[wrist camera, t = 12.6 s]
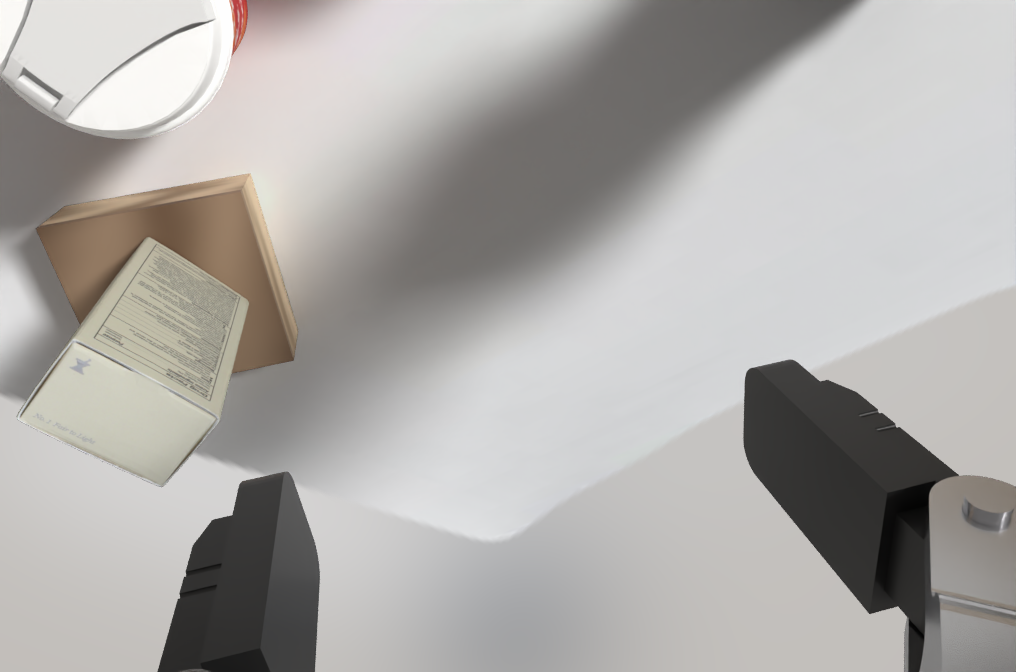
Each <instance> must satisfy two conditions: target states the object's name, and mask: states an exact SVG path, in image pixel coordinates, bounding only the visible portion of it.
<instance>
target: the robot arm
mask: <svg viewBox="0 0 1016 672" xmlns="http://www.w3.org/2000/svg"><path fill="white" fill-rule="evenodd" d="M744 449H745V453H746V457H747V460H748V462H749V465H750V467H751V469H752V470H753V472H754V474H755V475H756V476H757V477H758V479H759V480H760V481H761V482H762V483H763V485H764V486H765V487H766V488H767V489H768V491H769V492H770V493H771V494H772V496H773V497H774V498H775V499H776V501H777V502H778V503H779V504H780V505H781V507H782V508H783V509H784V510H785V512H786V513H787V514H788V515H789V516H790V518H791V519H792V520H793V521H794V523H795V524H796V525H797V526H798V527H799V529H800V530H801V531H802V532H803V533H804V535H805V536H806V537H807V538H808V540H809V541H810V542H811V543H812V544H813V546H814V547H815V548H816V549H817V551H818V552H819V553H820V554H821V555H822V557H823V558H824V559H825V560H826V561H827V563H828V564H829V565H830V566H831V568H832V569H833V570H834V571H835V572H836V574H837V575H838V576H839V577H840V579H841V580H842V581H843V582H844V583H845V585H846V586H847V587H848V588H849V589H850V591H851V592H852V593H853V594H854V596H855V597H856V598H857V599H858V600H859V602H860V603H861V604H862V605H863V607H864V608H865V609H866V610H867V611H868V613H869V614H871V613H875V612H879V611H882V610H886V609H890V608H894V607H897V606H898V607H899V608H900V609H901V610H902V611H903V612H904V613H905V615H906V616H907V621H906V626H905V635H904V636H905V637H904V672H1016V487H1015V486H1013V485H1011V484H1008V483H1006V482H1003V481H1000V480H996V479H992V478H988V477H982V476H970V475H968V476H967V475H963V476H959V475H958V474H957V473H956V472H954V471H953V470H952V469H950V468H949V467H948V466H947V465H946V464H944V463H943V462H942V461H941V460H939V459H938V458H937V457H936V456H935V455H933V454H932V453H931V452H930V451H928V450H927V449H926V448H925V447H923V446H922V445H921V444H920V443H919V442H917V441H916V440H915V439H914V438H912V437H911V436H910V435H909V434H907V433H906V432H905V431H904V430H902V429H901V428H900V427H898V428H896V426H895V423H894V422H893V421H891V420H890V419H889V418H888V417H886V416H885V415H884V414H883V413H878V409H877V408H875V407H874V406H873V405H872V404H870V403H869V402H868V401H867V400H866V399H864V398H863V397H862V396H861V395H859V394H858V393H857V392H855V391H852V390H850V389H848V388H845V387H843V386H841V385H838V384H836V383H833V382H831V381H829V380H825V381H821V382H820V381H819V380H817V379H816V378H815V377H814V376H813V375H811V374H810V373H809V372H808V371H807V370H806V369H805V368H803V367H802V366H801V365H800V364H799V363H797V362H796V361H794V360H786V361H781V362H777V363H772V364H768V365H763V366H759V367H755V368H750V369H749V370H748V371H747V373H746V377H745V397H744ZM319 583H320V571H319V561H318V555H317V550H316V546H315V542H314V539H313V536H312V533H311V530H310V527H309V524H308V521H307V519H306V516H305V513H304V510H303V507H302V504H301V501H300V498H299V495H298V492H297V489H296V487H295V484H294V481H293V479H292V476H291V475H290V473H289V472H282V473H278V474H273V475H269V476H264V477H260V478H255V479H251V480H246V481H242V482H241V483H240V485H239V489H238V493H237V497H236V502H235V507H234V511H233V515H232V516H227V517H223V518H219V519H214V520H212V521H211V523H210V524H209V525H208V527H207V528H206V529H205V531H204V532H203V533H202V534H201V536H200V537H199V538H198V540H197V541H196V542H195V544H194V545H193V547H192V551H191V554H190V558H189V561H188V565H187V569H186V577H184V579H183V583H182V586H181V590H180V599H178V601H177V604H176V608H175V611H174V615H173V619H172V623H171V626H170V629H169V633H168V636H167V640H166V644H165V647H164V651H163V655H162V658H161V661H160V665H159V669H158V672H315V658H316V640H317V621H318V601H319Z"/></svg>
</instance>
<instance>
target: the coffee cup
mask: <svg viewBox="0 0 1016 672" xmlns="http://www.w3.org/2000/svg"><path fill="white" fill-rule="evenodd" d="M247 17H248V10H247V1H246V0H0V77H1V78H2V79H3V80H4V81H5V82H6V83H7V84H8V85H9V86H10V87H11V88H12V89H13V90H14V91H15V92H16V93H17V94H18V95H19V96H20V97H22V98H23V99H24V100H25V101H27V102H28V103H29V104H30V105H32V106H33V107H34V108H35V109H37V110H38V111H40V112H42V113H43V114H45V115H47V116H48V117H50V118H52V119H53V120H55V121H57V122H59V123H61V124H64V125H66V126H68V127H70V128H73V129H75V130H78V131H81V132H85V133H88V134H91V135H94V136H101V137H107V138H113V139H139V138H147V137H153V136H157V135H160V134H163V133H167V132H170V131H172V130H174V129H176V128H178V127H180V126H182V125H184V124H186V123H187V122H189V121H190V120H191V119H193V118H194V117H195V116H197V115H198V114H199V113H201V111H202V110H203V109H204V108H205V107H206V106H207V105H208V104H209V103H210V102H211V101H212V100H213V98H214V96H215V95H216V93H217V92H218V90H219V89H220V87H221V85H222V83H223V81H224V78H225V76H226V73H227V71H228V68H229V64H230V59H231V57H232V55H233V54H234V52H235V51H236V49H237V48H238V46H239V44H240V42H241V40H242V38H243V36H244V33H245V29H246V25H247Z"/></svg>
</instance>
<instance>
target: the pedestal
mask: <svg viewBox="0 0 1016 672" xmlns="http://www.w3.org/2000/svg"><path fill="white" fill-rule="evenodd" d="M36 230H37V232H38V235H39V237H40V239H41V241H42V243H43V245H44V248H45V250H46V252H47V254H48V256H49V258H50V261H51V263H52V265H53V267H54V269H55V271H56V274H57V276H58V278H59V280H60V282H61V284H62V287H63V289H64V291H65V293H66V295H67V297H68V300H69V302H70V304H71V306H72V308H73V310H74V313H75V315H76V317H77V319H78V321H79V323H80V325H81V323H82V322H83V320H84V319H85V318H86V316H87V315H88V314H89V312H90V311H91V310H92V308H93V307H94V306H95V304H96V303H97V301H98V300H99V299H100V297H101V296H102V295H103V293H104V292H105V290H106V289H107V288H108V286H109V285H110V284H111V282H112V281H113V280H114V278H115V277H116V276H117V274H118V273H119V272H120V270H121V269H122V268H123V266H124V265H125V264H126V262H127V261H128V260H129V258H130V257H131V256H132V255H133V253H134V252H135V251H136V249H137V248H138V247H139V246H140V244H141V243H142V242H143V241H144V239H145V238H147V237H150V238H152V239H154V240H155V241H157V242H159V243H160V244H162V245H164V246H165V247H167V248H169V249H170V250H172V251H174V252H175V253H177V254H178V255H180V256H181V257H183V258H185V259H186V260H188V261H189V262H191V263H192V264H194V265H195V266H197V267H199V268H200V269H202V270H203V271H205V272H206V273H208V274H209V275H211V276H213V277H214V278H216V279H217V280H219V281H220V282H222V283H223V284H225V285H226V286H228V287H229V288H231V289H232V290H234V291H235V292H237V293H238V294H240V295H241V296H243V297H244V298H246V299H247V300H248V302H249V306H248V310H247V314H246V318H245V322H244V325H243V330H242V334H241V337H240V341H239V345H238V349H237V353H236V357H235V361H234V365H233V369H232V373H236V372H241V371H246V370H250V369H255V368H260V367H265V366H270V365H274V364H279V363H284V362H289V361H294V355H295V348H296V341H297V335H298V329H297V325H296V322H295V319H294V316H293V312H292V309H291V306H290V302H289V299H288V296H287V292H286V289H285V286H284V283H283V279H282V276H281V273H280V269H279V266H278V263H277V260H276V256H275V253H274V250H273V246H272V243H271V240H270V237H269V233H268V230H267V227H266V223H265V220H264V217H263V214H262V210H261V207H260V204H259V200H258V197H257V194H256V190H255V187H254V184H253V181H252V177H251V174H245V175H239V176H233V177H228V178H222V179H217V180H211V181H205V182H200V183H194V184H188V185H183V186H177V187H172V188H166V189H160V190H155V191H149V192H143V193H138V194H132V195H127V196H121V197H115V198H110V199H104V200H98V201H93V202H87V203H82V204H76V205H70V206H65V207H63V208H62V209H61V210H59V211H58V212H57V213H55V214H54V215H53V216H52V217H50V218H49V219H48V220H46V221H45V222H44V223H43V224H41V225H40V226H39V227H38V228H36Z"/></svg>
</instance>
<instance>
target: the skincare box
mask: <svg viewBox="0 0 1016 672" xmlns="http://www.w3.org/2000/svg"><path fill="white" fill-rule="evenodd" d="M248 306H249V302H248V300H247V299H246V298H244V297H243V296H241V295H240V294H238V293H237V292H235V291H234V290H232V289H231V288H229V287H228V286H226V285H225V284H223V283H222V282H220V281H219V280H217V279H216V278H214V277H213V276H211V275H209V274H208V273H206V272H205V271H203V270H202V269H200V268H199V267H197V266H195V265H194V264H192V263H191V262H189V261H188V260H186V259H185V258H183V257H181V256H180V255H178V254H177V253H175V252H174V251H172V250H170V249H169V248H167V247H165V246H164V245H162V244H160V243H159V242H157V241H155V240H154V239H152V238H150V237H147V238H145V239H144V241H143V242H142V243H141V244H140V246H139V247H138V248H137V249H136V251H135V252H134V253H133V255H132V256H131V257H130V258H129V260H128V261H127V262H126V264H125V265H124V266H123V268H122V269H121V270H120V272H119V273H118V274H117V276H116V277H115V278H114V280H113V281H112V282H111V284H110V285H109V286H108V288H107V289H106V290H105V292H104V293H103V295H102V296H101V297H100V299H99V300H98V301H97V303H96V304H95V306H94V307H93V308H92V310H91V311H90V312H89V314H88V315H87V316H86V318H85V319H84V320H83V322H82V323H81V325H80V326H79V327H78V329H77V330H76V332H75V333H74V334H73V336H72V337H71V338H70V340H69V341H68V343H67V344H66V345H65V347H64V348H63V350H62V351H61V352H60V354H59V355H58V357H57V358H56V359H55V361H54V362H53V364H52V365H51V366H50V368H49V369H48V371H47V372H46V373H45V375H44V376H43V378H42V379H41V380H40V382H39V383H38V385H37V386H36V387H35V389H34V390H33V392H32V393H31V395H30V396H29V398H28V399H27V401H26V402H25V404H24V405H23V407H22V408H21V409H20V411H19V413H18V415H17V419H18V420H19V421H20V422H22V423H24V424H26V425H28V426H30V427H32V428H34V429H36V430H38V431H40V432H42V433H44V434H46V435H48V436H50V437H52V438H54V439H57V440H58V441H61V442H63V443H65V444H67V445H69V446H71V447H73V448H75V449H77V450H79V451H81V452H83V453H86V454H88V455H90V456H93V457H95V458H97V459H99V460H101V461H102V462H106V463H107V464H110V465H112V466H114V467H116V468H118V469H120V470H123V471H125V472H127V473H130V474H132V475H134V476H136V477H138V478H141V479H143V480H145V481H147V482H149V483H152V484H154V485H156V486H159V487H163V486H164V485H165V484H166V483H167V482H168V481H169V480H170V479H171V478H172V476H173V475H174V474H175V473H176V472H177V471H178V470H179V468H180V467H181V466H182V465H183V464H184V463H185V462H186V461H187V460H188V458H189V457H190V456H191V455H192V454H193V453H194V451H195V450H196V449H197V448H198V447H199V446H200V445H201V443H202V442H203V441H204V440H205V439H206V437H207V436H208V435H209V434H210V433H211V431H212V430H213V429H214V428H215V427H216V425H217V424H218V423H219V421H220V418H221V413H222V409H223V405H224V401H225V397H226V393H227V389H228V385H229V381H230V377H231V373H232V369H233V365H234V361H235V357H236V353H237V349H238V345H239V341H240V337H241V334H242V330H243V325H244V322H245V318H246V314H247V310H248Z"/></svg>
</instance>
